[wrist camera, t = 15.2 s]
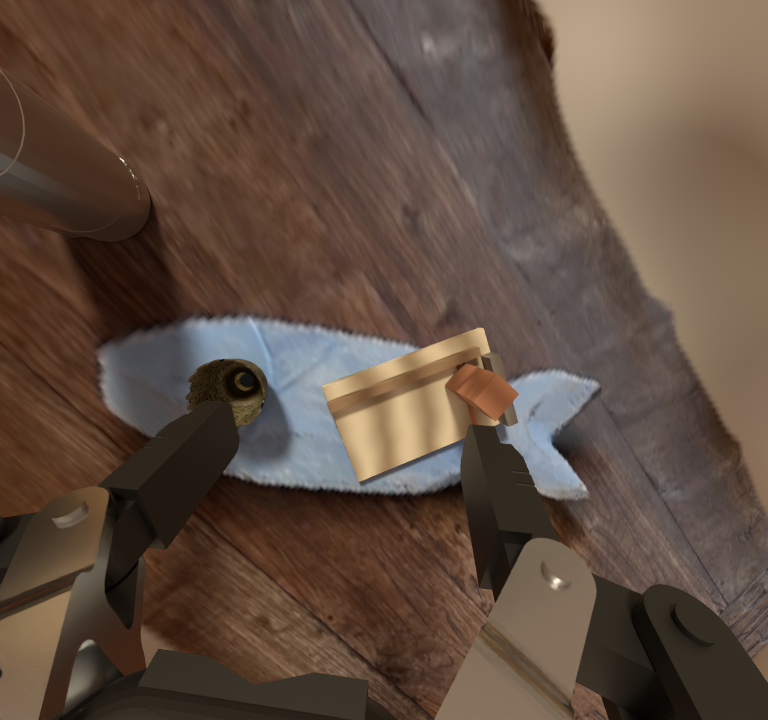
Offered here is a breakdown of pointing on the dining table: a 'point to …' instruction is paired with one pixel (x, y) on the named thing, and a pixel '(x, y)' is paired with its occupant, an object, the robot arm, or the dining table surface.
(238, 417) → the olive rounded hollow piece
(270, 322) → the dining table surface
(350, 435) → the birch board
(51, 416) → the dining table surface
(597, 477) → the dining table surface
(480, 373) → the tall copper-brown prism
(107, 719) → the robot arm
